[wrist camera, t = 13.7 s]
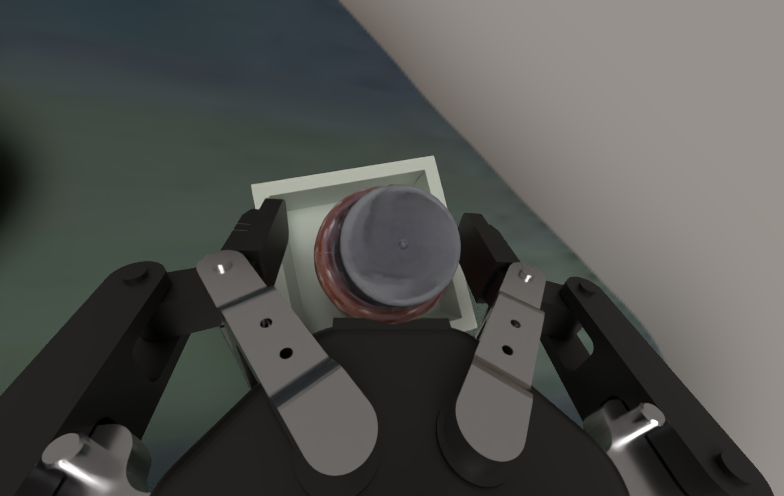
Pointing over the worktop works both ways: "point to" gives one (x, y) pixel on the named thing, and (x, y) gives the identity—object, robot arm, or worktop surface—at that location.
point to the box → (305, 216)
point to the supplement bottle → (387, 253)
